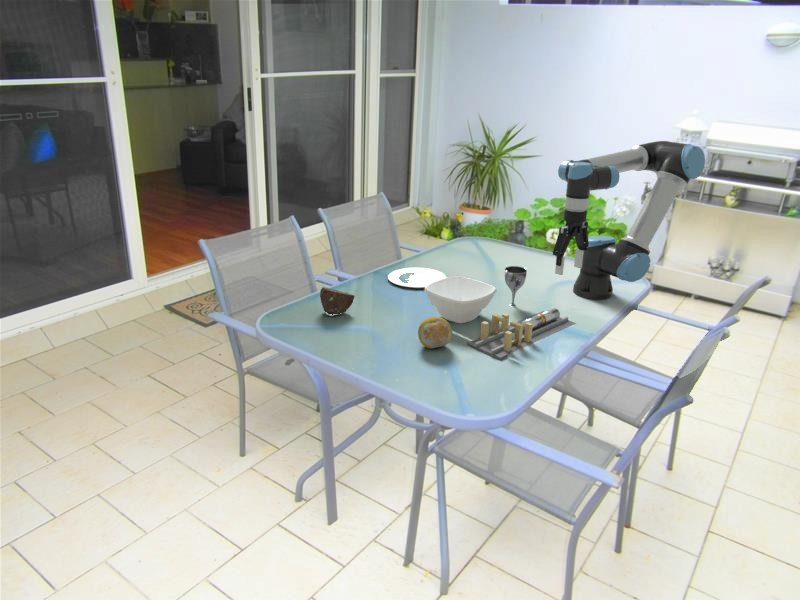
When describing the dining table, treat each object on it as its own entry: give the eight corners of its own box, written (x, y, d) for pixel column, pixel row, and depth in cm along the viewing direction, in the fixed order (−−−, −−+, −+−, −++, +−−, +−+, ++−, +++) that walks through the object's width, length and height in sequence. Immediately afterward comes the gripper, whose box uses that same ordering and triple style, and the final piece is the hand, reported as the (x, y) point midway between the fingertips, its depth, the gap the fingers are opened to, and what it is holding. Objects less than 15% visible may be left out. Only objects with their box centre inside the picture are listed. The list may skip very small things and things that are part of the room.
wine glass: (523, 311, 222) (526, 273, 216) (501, 310, 223) (504, 272, 218) (523, 304, 229) (526, 266, 224) (502, 302, 231) (505, 265, 225)
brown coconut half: (355, 296, 222) (354, 290, 212) (347, 322, 220) (346, 317, 210) (323, 287, 222) (320, 281, 212) (315, 313, 220) (312, 308, 210)
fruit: (412, 343, 197) (413, 315, 193) (441, 338, 201) (443, 310, 197) (426, 356, 188) (426, 327, 184) (456, 350, 192) (457, 322, 188)
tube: (550, 317, 216) (551, 306, 214) (559, 320, 213) (560, 310, 211) (518, 330, 205) (519, 320, 203) (527, 334, 202) (529, 323, 200)
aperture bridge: (493, 333, 202) (495, 313, 199) (521, 345, 194) (523, 324, 191) (490, 335, 201) (492, 315, 198) (518, 347, 193) (520, 326, 190)
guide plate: (543, 313, 221) (544, 295, 219) (575, 325, 211) (578, 306, 209) (467, 344, 196) (468, 325, 193) (500, 360, 186) (502, 339, 184)
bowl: (455, 301, 231) (457, 273, 227) (502, 318, 216) (504, 288, 212) (415, 317, 217) (416, 287, 212) (462, 336, 202) (464, 304, 198)
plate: (457, 277, 257) (457, 273, 257) (427, 295, 238) (428, 291, 237) (407, 267, 270) (407, 263, 269) (376, 283, 250) (376, 279, 249)
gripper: (585, 202, 213) (578, 261, 221) (546, 212, 198) (539, 274, 207) (604, 206, 207) (596, 266, 216) (565, 216, 193) (557, 280, 201)
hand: (568, 270), depth 211 cm, fingers open, 11 cm apart
